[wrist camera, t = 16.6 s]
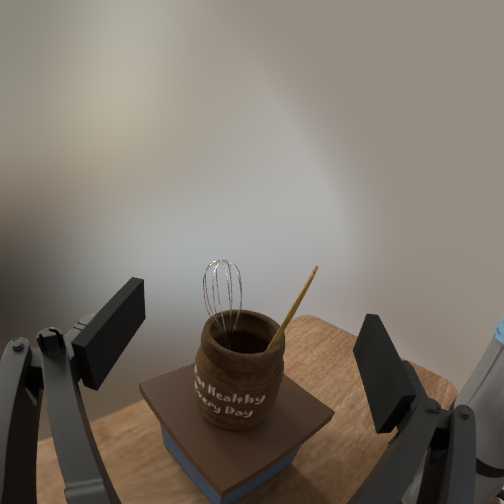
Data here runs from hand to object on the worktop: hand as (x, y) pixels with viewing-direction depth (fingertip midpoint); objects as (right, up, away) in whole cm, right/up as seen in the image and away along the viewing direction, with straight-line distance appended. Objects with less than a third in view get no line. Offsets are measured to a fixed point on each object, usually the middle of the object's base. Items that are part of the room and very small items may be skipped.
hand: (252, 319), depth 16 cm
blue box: (-2, -16, +7) cm, 18 cm away
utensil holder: (-1, -8, +4) cm, 9 cm away
